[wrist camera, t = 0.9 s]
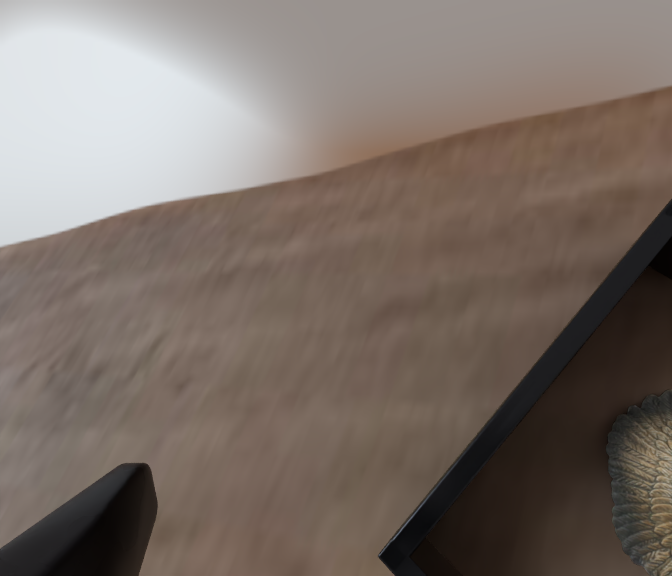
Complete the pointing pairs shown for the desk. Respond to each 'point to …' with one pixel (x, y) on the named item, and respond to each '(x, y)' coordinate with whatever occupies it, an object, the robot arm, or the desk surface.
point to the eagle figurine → (644, 482)
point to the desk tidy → (522, 404)
